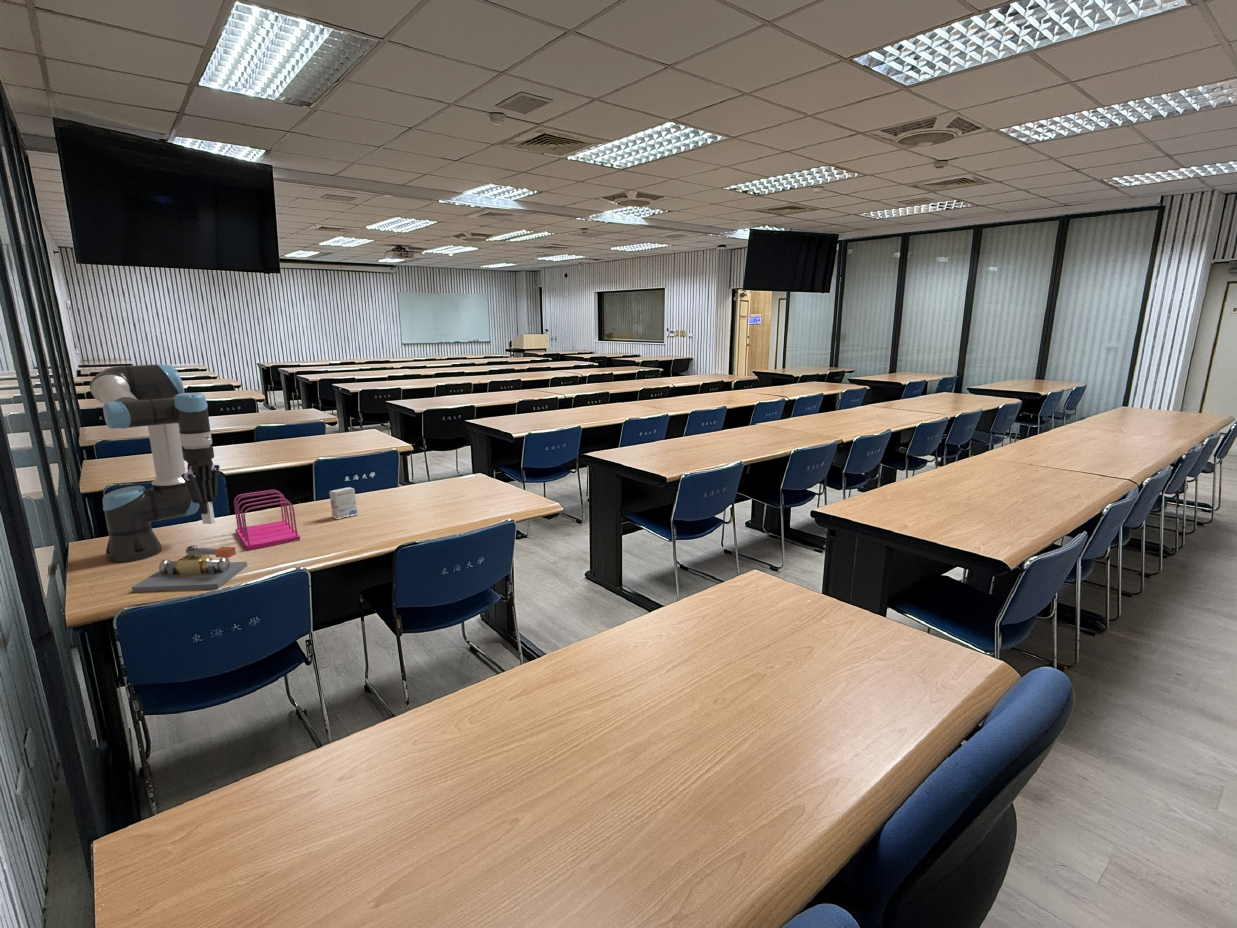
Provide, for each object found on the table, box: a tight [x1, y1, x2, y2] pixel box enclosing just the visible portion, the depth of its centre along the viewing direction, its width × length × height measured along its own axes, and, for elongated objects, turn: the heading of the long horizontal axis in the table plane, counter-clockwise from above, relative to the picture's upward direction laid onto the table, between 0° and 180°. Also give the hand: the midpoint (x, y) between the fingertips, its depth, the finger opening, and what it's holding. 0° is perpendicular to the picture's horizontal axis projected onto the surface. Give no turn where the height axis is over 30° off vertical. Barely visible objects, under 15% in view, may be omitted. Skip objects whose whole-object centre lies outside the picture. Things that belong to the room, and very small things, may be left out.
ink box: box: [328, 486, 358, 518], centre depth 251 cm, size 9×5×12 cm, turn 141°
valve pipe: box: [158, 554, 231, 576], centre depth 191 cm, size 18×6×6 cm, turn 96°
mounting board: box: [131, 561, 248, 593], centre depth 189 cm, size 24×18×2 cm
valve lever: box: [185, 545, 237, 559], centre depth 189 cm, size 15×3×3 cm, turn 85°
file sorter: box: [233, 489, 301, 551], centre depth 226 cm, size 17×25×16 cm
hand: (208, 522), depth 182 cm, fingers closed
